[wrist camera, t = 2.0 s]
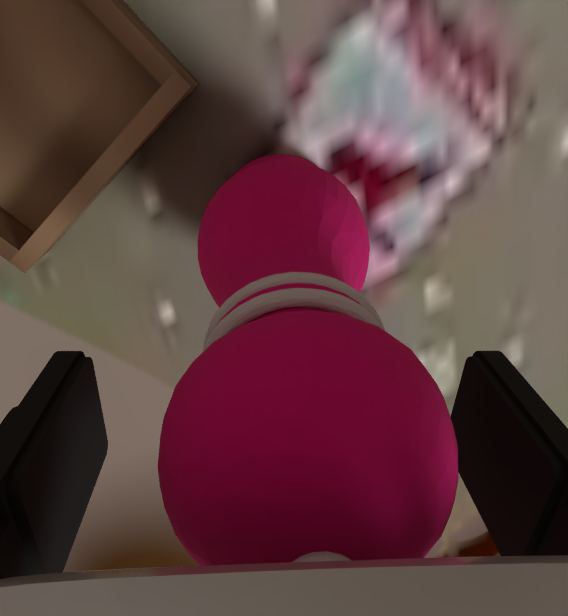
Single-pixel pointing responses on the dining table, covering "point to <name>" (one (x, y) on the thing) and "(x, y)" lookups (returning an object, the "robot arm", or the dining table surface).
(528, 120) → the dining table surface
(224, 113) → the dining table surface
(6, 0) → the walnut tray
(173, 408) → the magenta pepper mill
